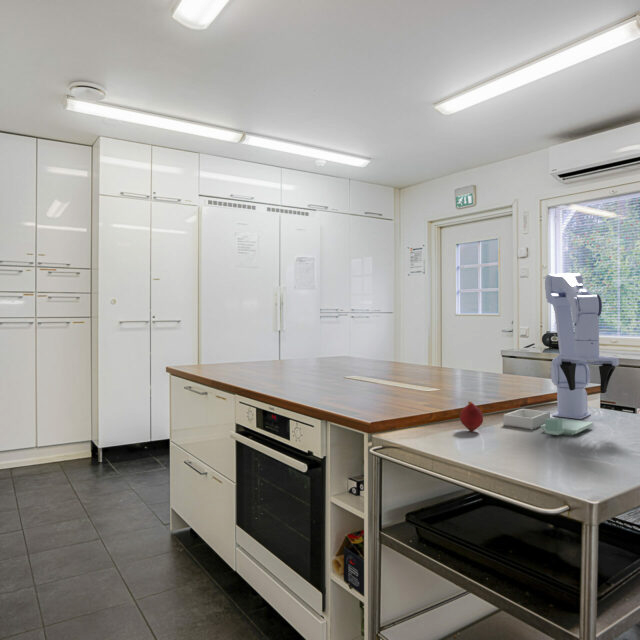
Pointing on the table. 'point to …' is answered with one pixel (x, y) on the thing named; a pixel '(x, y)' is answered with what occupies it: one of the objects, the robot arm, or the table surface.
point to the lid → (564, 426)
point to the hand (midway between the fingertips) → (587, 391)
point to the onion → (471, 416)
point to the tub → (525, 418)
